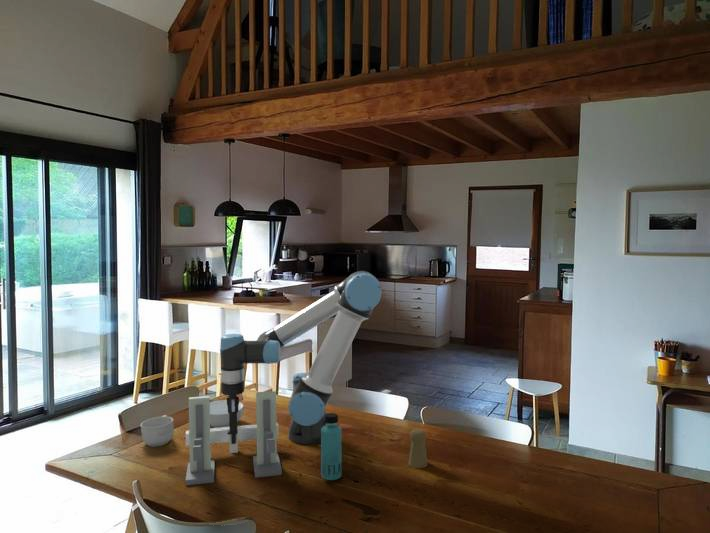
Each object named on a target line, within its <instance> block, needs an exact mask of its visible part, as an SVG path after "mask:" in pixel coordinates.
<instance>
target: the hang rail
mask: <svg viewBox="0 0 710 533" xmlns="http://www.w3.org/2000/svg"><path fill="white" fill-rule="evenodd" d="M276 430H277V438H279V430H280V429H279V422H277V421H276ZM229 431H230V427H229V426H228V427H221V428H214V427H210V445H211V444H219V443H220V444H221V443H229V434H228V435H227V432H229ZM237 431H238V442H240V441H241V442H242V441H252V440H257V423H256V424H247V425H246V424H244V425H239V426H237ZM185 446H186V447H187V446H188V447H190V440H189V430H185Z"/></svg>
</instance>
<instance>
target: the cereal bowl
mask: <svg viewBox="0 0 710 533" xmlns="http://www.w3.org/2000/svg"><path fill="white" fill-rule="evenodd" d="M243 414H244V404H243V403H241V402H240V401H239V405H238V413H237V422H239V421H240V420H241V419H242V417H243ZM229 426H230V425H229V413H228V405H227V399H223V400H221V399H220V400H214V401H210V428H221V427H229Z"/></svg>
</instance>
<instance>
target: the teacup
mask: <svg viewBox="0 0 710 533" xmlns="http://www.w3.org/2000/svg"><path fill="white" fill-rule="evenodd" d="M139 426H140V431H141V438H142V442H144V444H145V445H147V446H149V447H152V448H157V447H162V446H165V445H166V444H168V443H169V442H170V441H172V439H173V437H174V434H175V433H174V431H175V429H174V418H173V417H172V416H168V415H166V414H164V415H162V416H156V417H152V418H148V419H146V420H144V421H142V422H141V423H140V425H139Z"/></svg>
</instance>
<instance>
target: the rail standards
mask: <svg viewBox="0 0 710 533" xmlns="http://www.w3.org/2000/svg"><path fill="white" fill-rule="evenodd" d="M255 396H256V397H255V400H256V404H255V406H256V407H255V408H256V424H257V439H256V455H253V456H252V462H253V470H254V477H255V478H254V479H256V478H265V477H275V476H281V475H283V469H282V465H281V461H280V457H279V454H278V450H277V448H278V444H277V442H278V440H277V438H278V437H277V430H276V423H277V391H276V390H274V391H272V390H270V391H260V392H255ZM210 400H211V399H210V395H205V396H193V397H191V396H190V397H189V396H188V425H189V426H188V429H189V440H190V446H189V462H187V468H186V474H185V486H193V485H201V484H212V483H213V484H214V482H215V468H216V466H215V460H214V459H212V456H211V453H212V451H211V449H212V448H211V444H210V428H211V426H210V402H211V401H210ZM211 459H212V460H211Z"/></svg>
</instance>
